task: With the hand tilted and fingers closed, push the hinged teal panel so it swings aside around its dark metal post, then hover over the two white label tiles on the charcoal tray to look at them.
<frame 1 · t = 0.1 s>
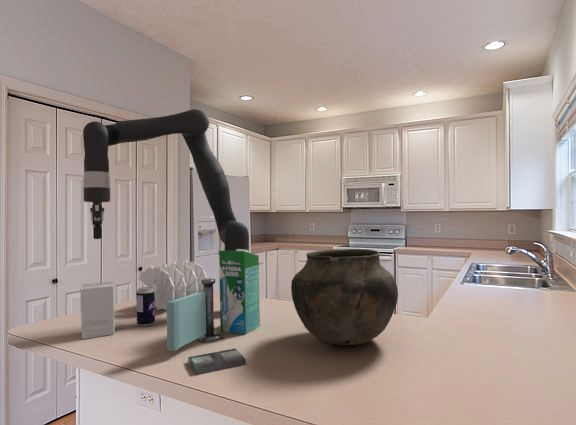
hand: (97, 238, 115), 29 cm above the counter, tool pointing down, fingers open, 8 cm apart
pot: (343, 342, 101), on the counter
milk carton: (240, 329, 115), on the counter
swing panel: (188, 319, 98), point 8 cm above the counter, hinge at 0.0°
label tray: (216, 363, 88), on the counter
beverage can: (146, 325, 121), on the counter
supplement box: (98, 333, 113), on the counter
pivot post: (209, 338, 106), on the counter
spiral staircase: (177, 305, 147), on the counter
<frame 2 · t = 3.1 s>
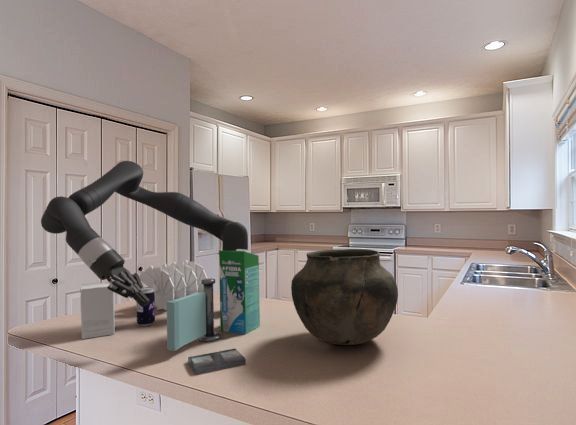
hand: (146, 304, 97), 12 cm above the counter, tool tilted 45°, fingers closed
nothing on the counter moved.
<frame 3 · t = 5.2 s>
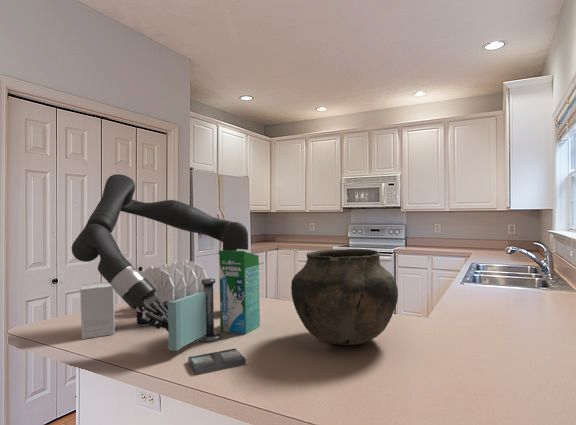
hand: (178, 334, 96), 5 cm above the counter, tool tilted 45°, fingers closed
swing panel: (189, 319, 98), point 8 cm above the counter, hinge at 1.9°, touching gripper
everything else where it was.
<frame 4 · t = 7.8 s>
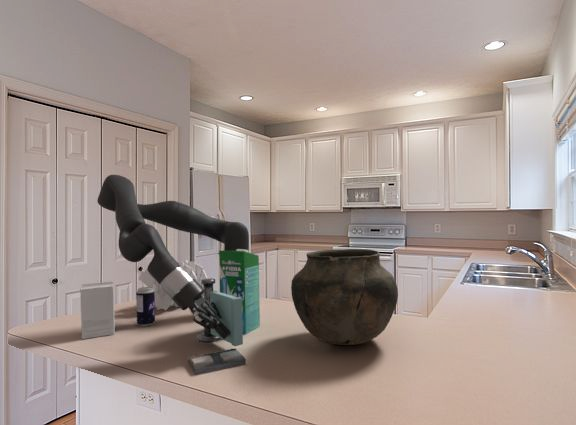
hand: (227, 336, 95), 4 cm above the counter, tool tilted 45°, fingers closed
swing panel: (225, 316, 99), point 8 cm above the counter, hinge at 63.8°, touching gripper
everything else where it was.
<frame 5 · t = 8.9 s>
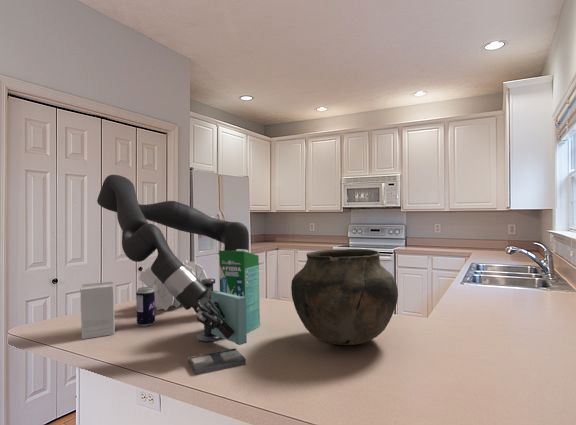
hand: (231, 335, 95), 4 cm above the counter, tool tilted 45°, fingers closed
swing panel: (227, 316, 100), point 8 cm above the counter, hinge at 68.4°, touching hand
everything else where it was.
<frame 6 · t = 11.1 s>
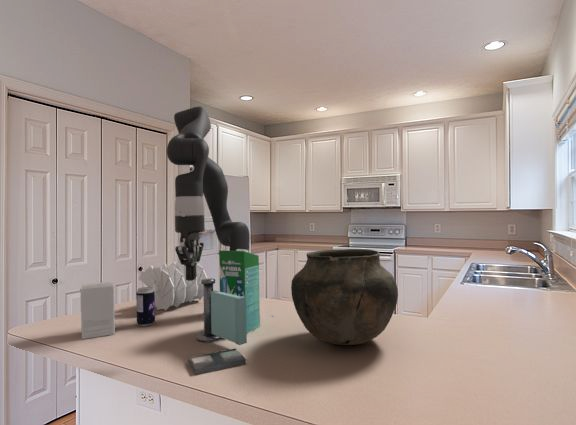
hand: (191, 280, 96), 19 cm above the counter, tool pointing down, fingers closed
swing panel: (227, 316, 100), point 8 cm above the counter, hinge at 68.4°
everything else where it was.
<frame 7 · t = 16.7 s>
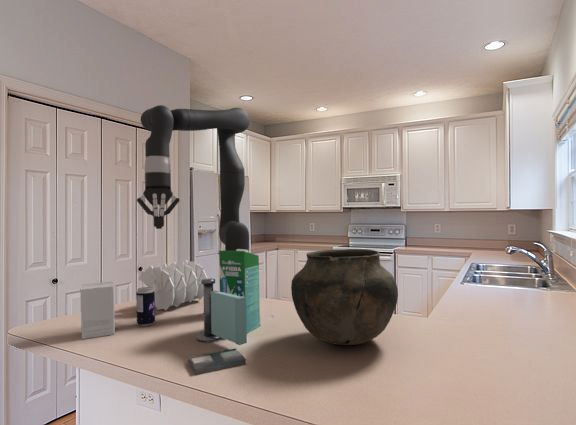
hand: (158, 228, 112), 32 cm above the counter, tool pointing down, fingers closed
nothing on the counter moved.
at the end: swing panel at +68° (first picture: +0°) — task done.
